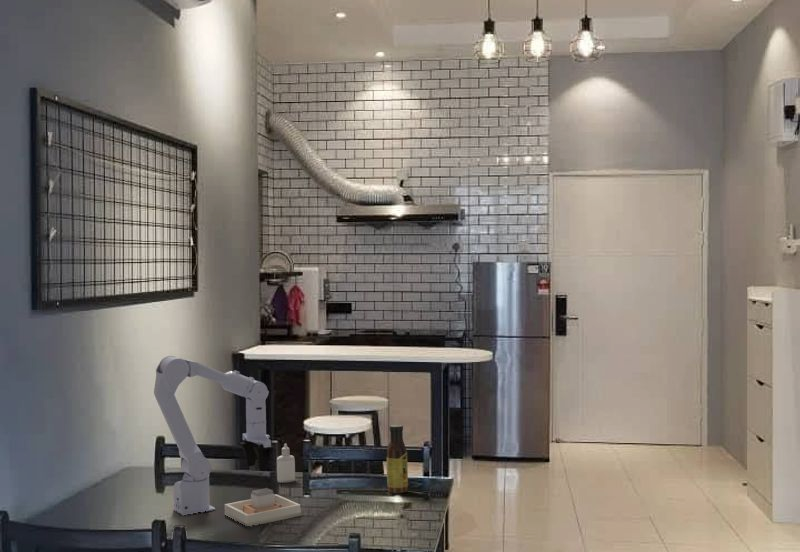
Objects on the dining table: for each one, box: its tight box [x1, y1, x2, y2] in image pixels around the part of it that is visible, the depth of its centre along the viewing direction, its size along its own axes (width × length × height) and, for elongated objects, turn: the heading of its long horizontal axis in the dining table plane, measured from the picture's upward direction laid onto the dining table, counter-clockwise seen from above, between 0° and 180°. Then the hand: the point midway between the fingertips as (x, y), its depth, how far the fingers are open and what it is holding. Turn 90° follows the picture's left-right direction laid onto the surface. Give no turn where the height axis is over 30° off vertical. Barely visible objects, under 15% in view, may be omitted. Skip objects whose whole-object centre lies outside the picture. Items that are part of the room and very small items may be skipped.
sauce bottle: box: [386, 424, 409, 495], centre depth 252 cm, size 7×6×20 cm
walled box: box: [224, 493, 302, 527], centre depth 230 cm, size 16×14×3 cm
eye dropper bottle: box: [276, 443, 296, 484], centre depth 267 cm, size 4×6×12 cm
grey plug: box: [250, 487, 275, 510], centre depth 230 cm, size 5×4×6 cm
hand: (257, 468), depth 245 cm, fingers open, 7 cm apart
